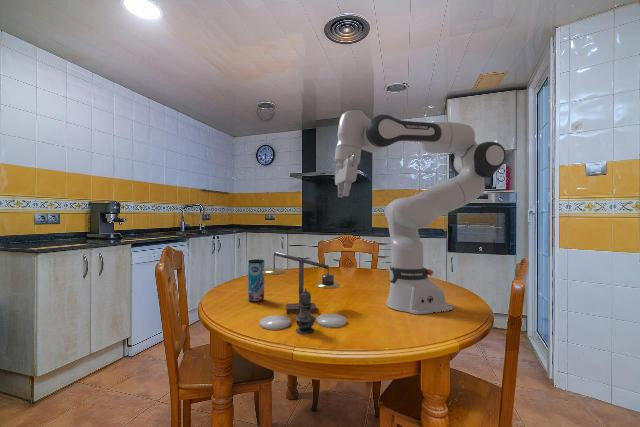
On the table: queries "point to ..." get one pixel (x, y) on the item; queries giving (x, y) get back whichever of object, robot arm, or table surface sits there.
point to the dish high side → (275, 322)
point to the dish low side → (331, 320)
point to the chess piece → (305, 315)
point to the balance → (325, 284)
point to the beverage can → (255, 280)
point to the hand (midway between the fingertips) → (342, 196)
